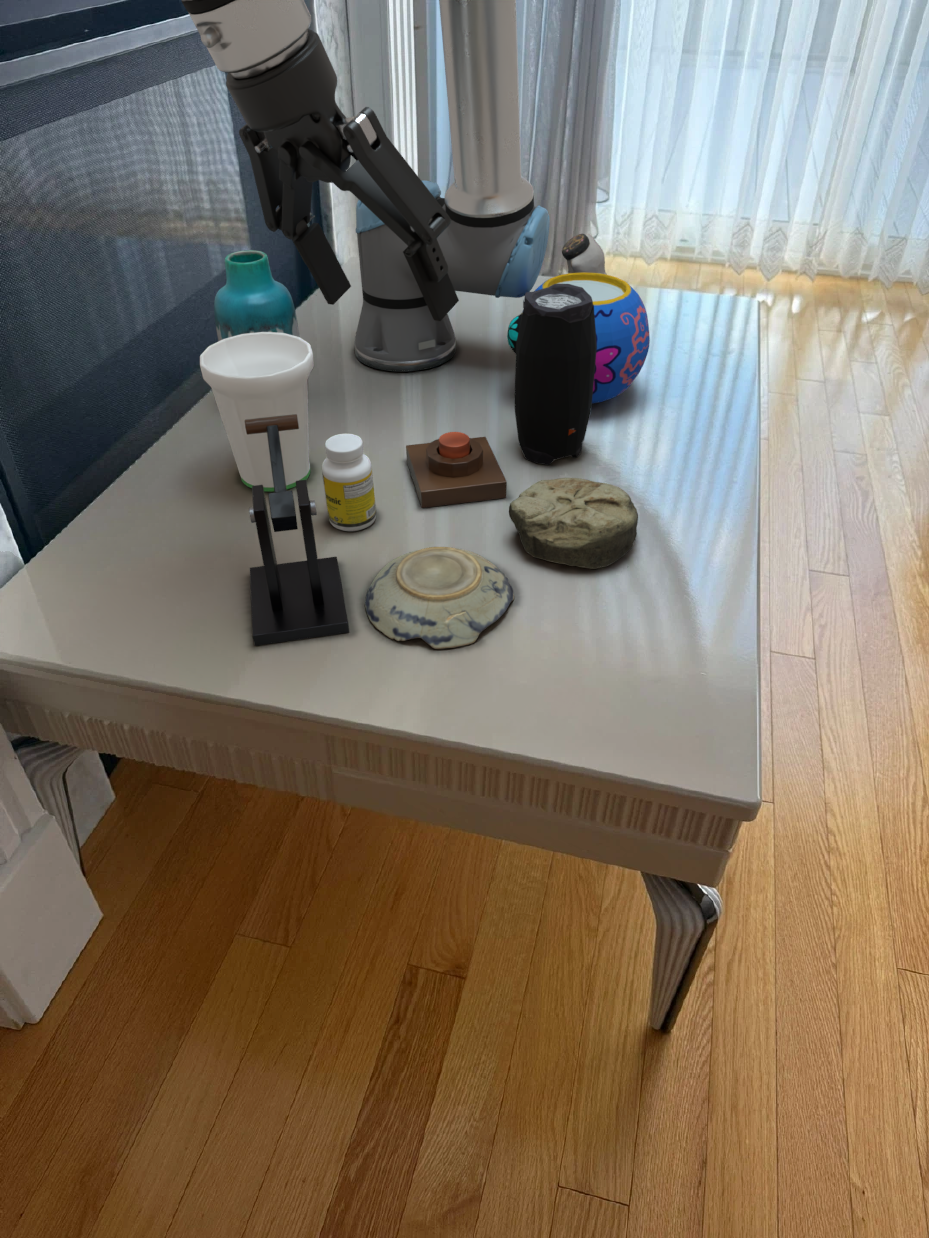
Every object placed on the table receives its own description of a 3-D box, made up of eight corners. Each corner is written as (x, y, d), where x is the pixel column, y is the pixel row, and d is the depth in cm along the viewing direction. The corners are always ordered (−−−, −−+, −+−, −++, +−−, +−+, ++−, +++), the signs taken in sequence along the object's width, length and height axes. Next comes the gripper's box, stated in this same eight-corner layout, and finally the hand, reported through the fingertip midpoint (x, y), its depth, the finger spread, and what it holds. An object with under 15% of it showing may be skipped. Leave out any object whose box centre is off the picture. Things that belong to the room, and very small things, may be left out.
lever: (246, 428, 88) (243, 413, 86) (298, 423, 89) (296, 407, 87) (258, 534, 83) (255, 520, 81) (313, 527, 84) (311, 514, 82)
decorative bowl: (383, 664, 83) (536, 631, 86) (379, 633, 81) (537, 600, 84) (352, 572, 94) (488, 545, 97) (348, 543, 92) (488, 517, 95)
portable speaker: (593, 465, 110) (607, 308, 97) (517, 469, 110) (521, 311, 97) (580, 432, 117) (592, 280, 104) (509, 435, 116) (512, 283, 103)
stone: (611, 588, 91) (616, 545, 88) (494, 552, 96) (494, 510, 93) (653, 524, 100) (659, 483, 97) (543, 494, 105) (546, 454, 102)
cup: (267, 513, 103) (244, 389, 93) (203, 476, 109) (176, 355, 99) (348, 471, 110) (335, 351, 100) (284, 438, 116) (266, 322, 106)
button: (436, 446, 107) (436, 433, 106) (466, 443, 107) (466, 430, 106) (442, 461, 104) (441, 448, 103) (472, 458, 105) (472, 444, 103)
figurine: (576, 320, 145) (583, 223, 136) (632, 334, 141) (643, 234, 131) (548, 338, 140) (553, 238, 130) (605, 353, 135) (614, 250, 126)
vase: (255, 423, 119) (230, 277, 107) (216, 396, 126) (187, 256, 113) (322, 398, 125) (304, 257, 112) (280, 374, 131) (260, 237, 119)
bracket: (251, 577, 93) (229, 470, 85) (338, 566, 95) (324, 459, 87) (254, 646, 85) (230, 534, 77) (349, 632, 87) (335, 521, 78)
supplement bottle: (322, 512, 103) (312, 435, 96) (367, 502, 104) (360, 425, 98) (336, 537, 99) (326, 459, 93) (383, 526, 100) (376, 448, 94)
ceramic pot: (541, 360, 134) (545, 256, 124) (657, 381, 128) (672, 274, 118) (493, 409, 122) (494, 299, 112) (620, 435, 116) (632, 321, 106)
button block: (406, 461, 111) (405, 432, 109) (485, 452, 113) (485, 423, 110) (421, 508, 103) (420, 478, 101) (506, 498, 105) (507, 468, 102)
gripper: (139, 89, 70) (276, 314, 86) (352, 71, 55) (471, 348, 71) (203, 36, 73) (325, 265, 88) (424, 6, 58) (524, 288, 73)
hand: (390, 303), depth 80 cm, fingers open, 13 cm apart
